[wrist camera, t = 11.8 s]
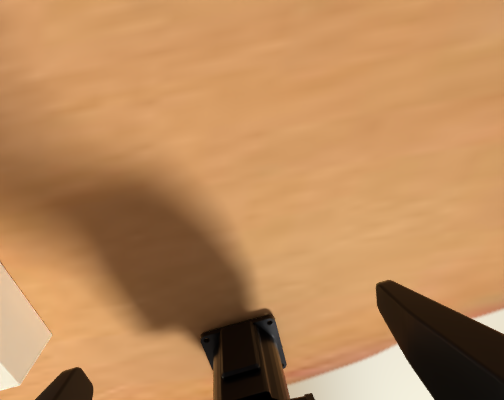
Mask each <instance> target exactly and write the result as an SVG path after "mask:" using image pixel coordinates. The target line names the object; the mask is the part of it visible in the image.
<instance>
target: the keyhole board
mask: <svg viewBox="0 0 504 400" xmlns="http://www.w3.org/2000/svg"><path fill="white" fill-rule="evenodd" d="M51 337H52V334H51V332H50V331H49V329H48V328H47V327H46V325H45V324H44V322H43V321H42V320H41V318H40V317H39V315H38V314H37V313H36V311H35V310H34V308H33V307H32V306H31V304H30V303H29V301H28V300H27V299H26V297H25V296H24V294H23V293H22V292H21V290H20V289H19V288H18V286H17V285H16V283H15V282H14V281H13V279H12V278H11V276H10V275H9V274H8V272H7V271H6V269H5V268H4V267H3V265H2V264H1V262H0V391H1V390H5V389H8V388H12V387H15V386H19V385H21V383H22V382H23V380H24V379H25V377H26V375H27V374H28V372H29V371H30V369H31V368H32V366H33V365H34V363H35V362H36V360H37V358H38V357H39V355H40V354H41V352H42V351H43V349H44V348H45V346H46V345H47V343H48V341H49V340H50V338H51Z"/></svg>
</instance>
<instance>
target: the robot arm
mask: <svg viewBox="0 0 504 400" xmlns="http://www.w3.org/2000/svg"><path fill="white" fill-rule="evenodd" d="M376 297H377V306H378V309H379V311H380V313H381V315H382V317H383V318H384V320H385V322H386V324H387V325H388V327H389V329H390V331H391V333H392V334H393V336H394V338H395V340H396V341H397V343H398V345H399V347H400V348H401V350H402V352H403V354H404V355H405V357H406V359H407V360H408V362H409V364H410V365H411V366H412V368H413V369H414V371H415V372H416V374H417V375H418V377H419V378H420V380H421V381H422V382H423V384H424V385H425V387H426V388H427V390H428V391H429V392H430V394H431V395H432V397H433V398H434V400H504V334H502V333H500V332H498V331H496V330H494V329H492V328H490V327H488V326H486V325H484V324H481V323H479V322H477V321H475V320H473V319H471V318H469V317H467V316H465V315H463V314H461V313H459V312H456V311H454V310H452V309H450V308H448V307H446V306H444V305H442V304H440V303H438V302H436V301H433V300H431V299H429V298H427V297H425V296H423V295H421V294H419V293H417V292H415V291H413V290H410V289H408V288H406V287H404V286H402V285H400V284H398V283H396V282H394V281H391V280H386V281H383V282H379V283H377V284H376ZM268 321H269V322H268ZM205 338H208V339H205ZM201 343H202V346H203V348H204V351H205V353H206V355H207V358H208V360H209V362H210V365H211V367H212V369H213V400H315V399H314V397H313V394H312V393H310V394H305V395H304V396H303V397H298V398H293V399H290V396H289V392H288V388H287V384H286V380H285V376H284V372H283V369H284V368H285V367H286V360H285V356H284V353H283V349H282V345H281V341H280V337H279V333H278V329H277V326H276V322H275V318H274V316H272V315H266V316H262V317H259V318H255V319H252V320H248V321H244V322H241V323H237V324H233V325H230V326H226V327H223V328H219V329H215V330H212V331H208V332H205V333H203V334H202V335H201ZM92 397H93V385H92V383H91V381H90V380H89V379H88V377H87V376H86V374H85V373H84V372H83V370H82V369H81V368H79V367H76V368H72V369H68V370H65V371H63V372H62V373H61V374H60V375H59V376H58V377H57V378H56V379H55V380H54V381H53V382H52V383H51V384H50V385H49V386H48V387H47V388H46V389H45V390H44V391H43V392H42V393H41V394H40V395H39V396H38V397H37V398H36V399H35V400H92Z"/></svg>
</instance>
